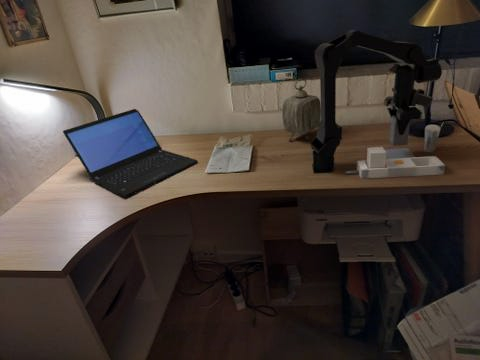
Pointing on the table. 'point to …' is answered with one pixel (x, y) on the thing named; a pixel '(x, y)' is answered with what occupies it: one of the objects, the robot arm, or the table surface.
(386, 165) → the power strip
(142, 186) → the laptop
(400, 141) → the grey rectangular block
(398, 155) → the slate mat
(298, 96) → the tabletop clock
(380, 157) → the block
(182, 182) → the table surface
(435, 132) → the milkshake
